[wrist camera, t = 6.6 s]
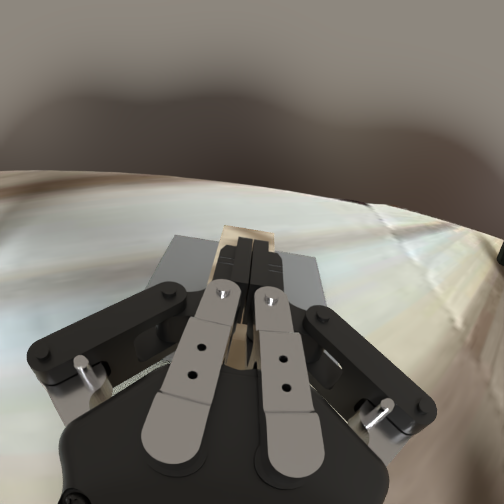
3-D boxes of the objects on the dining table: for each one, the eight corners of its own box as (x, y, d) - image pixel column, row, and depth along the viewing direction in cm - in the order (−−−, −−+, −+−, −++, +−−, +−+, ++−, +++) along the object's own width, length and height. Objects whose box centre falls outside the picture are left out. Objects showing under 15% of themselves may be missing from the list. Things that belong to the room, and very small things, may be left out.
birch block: (194, 332, 16) (224, 225, 28) (193, 374, 19) (219, 265, 31) (276, 344, 16) (273, 233, 28) (261, 384, 19) (264, 272, 31)
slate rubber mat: (118, 348, 20) (117, 345, 20) (175, 237, 35) (175, 234, 35) (338, 381, 21) (340, 378, 20) (314, 259, 36) (315, 257, 36)
